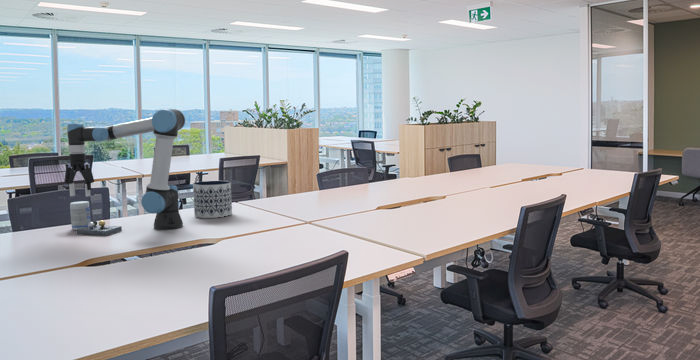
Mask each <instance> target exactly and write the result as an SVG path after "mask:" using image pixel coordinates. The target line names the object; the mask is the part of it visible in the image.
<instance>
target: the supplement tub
mask: <svg viewBox="0 0 700 360" xmlns="http://www.w3.org/2000/svg"><path fill="white" fill-rule="evenodd" d="M90 208H91V207H90V201H88V200H87V201H86V200H85V201H84V200H81V201H73V202H70V204H69V210H70V211H69V212H70V223H71V225H70V226H71V230H72V231H76V230H77V229H81V228H84V227H88V224H89V223H90V222H92V219H91V209H90Z"/></svg>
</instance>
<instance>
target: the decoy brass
mask: <svg viewBox="0 0 700 360" xmlns="http://www.w3.org/2000/svg"><path fill="white" fill-rule="evenodd" d="M98 225H99V226H101V227H103V226H106V222H105V221H104V220H100V221H99V222H98Z"/></svg>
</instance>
